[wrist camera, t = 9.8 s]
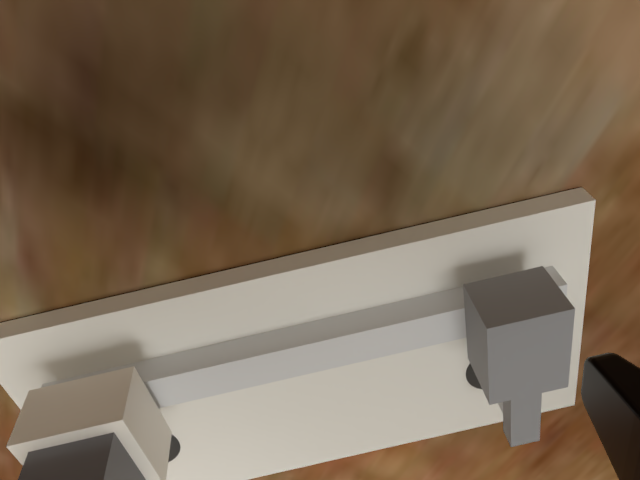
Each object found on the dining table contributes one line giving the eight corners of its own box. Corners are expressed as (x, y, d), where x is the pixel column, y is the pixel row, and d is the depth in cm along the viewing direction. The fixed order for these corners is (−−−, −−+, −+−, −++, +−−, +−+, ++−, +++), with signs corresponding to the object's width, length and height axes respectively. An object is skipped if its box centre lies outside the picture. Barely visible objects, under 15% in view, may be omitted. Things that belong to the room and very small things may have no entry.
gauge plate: (564, 389, 28) (615, 470, 24) (106, 493, 28) (86, 589, 25) (581, 186, 21) (655, 256, 18) (-21, 327, 22) (-76, 425, 18)
